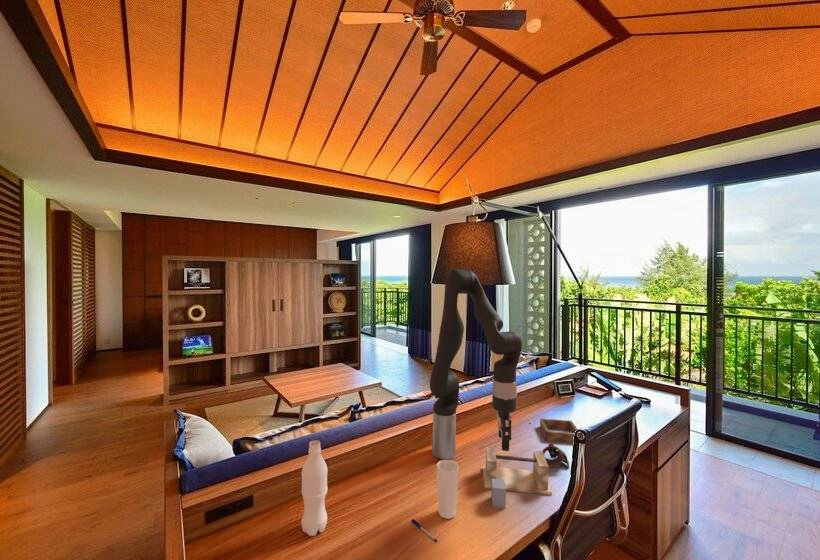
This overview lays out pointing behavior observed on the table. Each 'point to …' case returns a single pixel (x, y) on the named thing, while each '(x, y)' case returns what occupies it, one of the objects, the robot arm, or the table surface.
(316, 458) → the water bottle
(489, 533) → the table surface
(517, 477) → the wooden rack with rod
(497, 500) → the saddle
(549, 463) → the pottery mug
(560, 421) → the open wooden frame
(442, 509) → the drinking glass
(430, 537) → the ballpoint pen
